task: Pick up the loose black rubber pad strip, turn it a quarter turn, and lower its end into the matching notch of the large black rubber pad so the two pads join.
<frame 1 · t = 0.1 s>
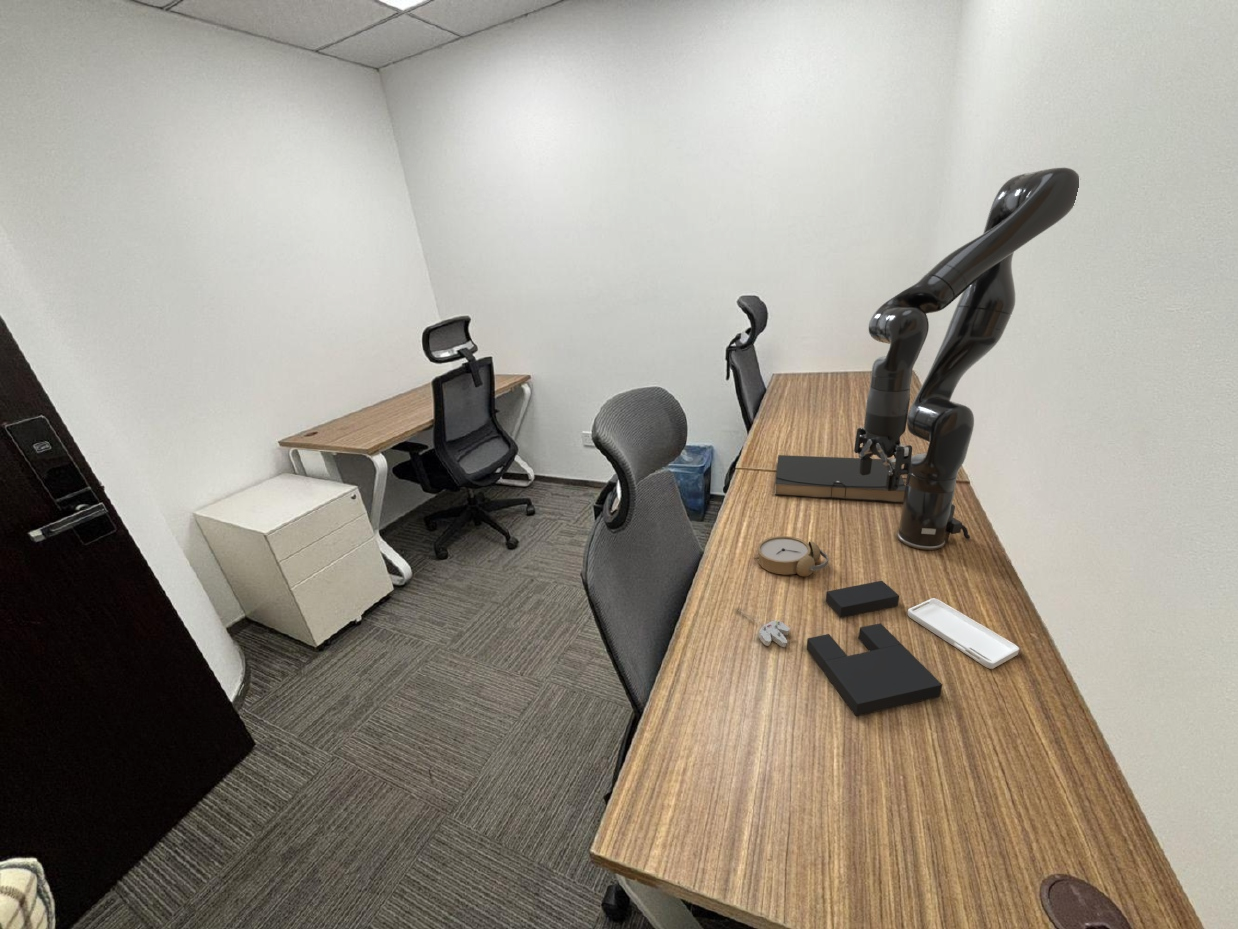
hand: (877, 481, 104), 17 cm above the table, tool pointing down, fingers open, 8 cm apart
phone case: (958, 634, 85), on the table
notched pad: (868, 671, 80), on the table
game controller: (761, 628, 91), on the table
alarm clock: (791, 564, 108), on the table
pad strip: (861, 603, 94), on the table
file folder: (835, 482, 143), on the table
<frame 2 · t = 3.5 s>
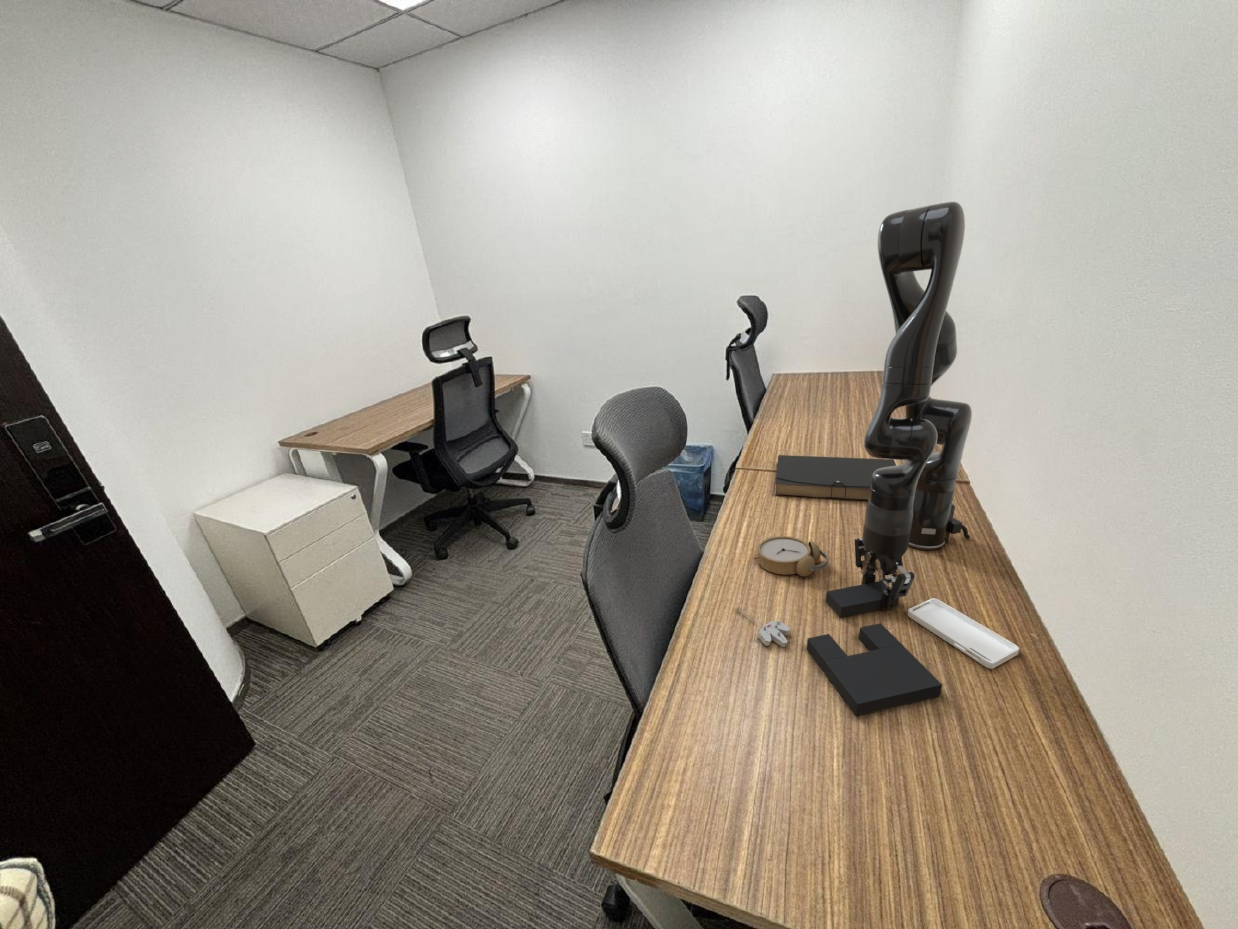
hand: (876, 599, 95), 0 cm above the table, tool pointing down, fingers closed on pad strip, 5 cm apart
pad strip: (861, 603, 94), on the table, touching gripper
everything else where it was.
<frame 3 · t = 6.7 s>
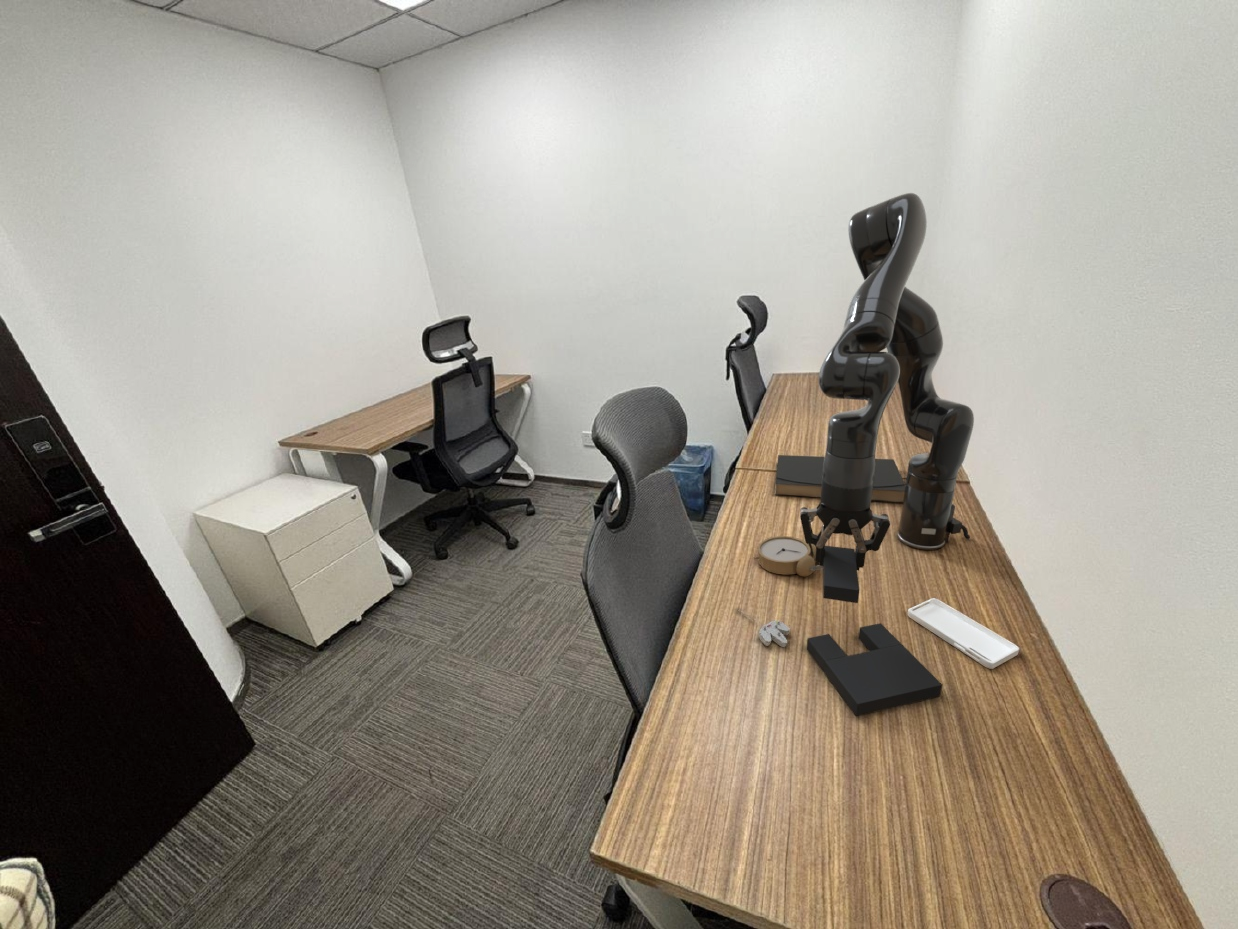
hand: (838, 565, 84), 14 cm above the table, tool pointing down, fingers closed on pad strip, 5 cm apart
pad strip: (839, 578, 82), point 13 cm above the table, touching gripper
everything else where it was.
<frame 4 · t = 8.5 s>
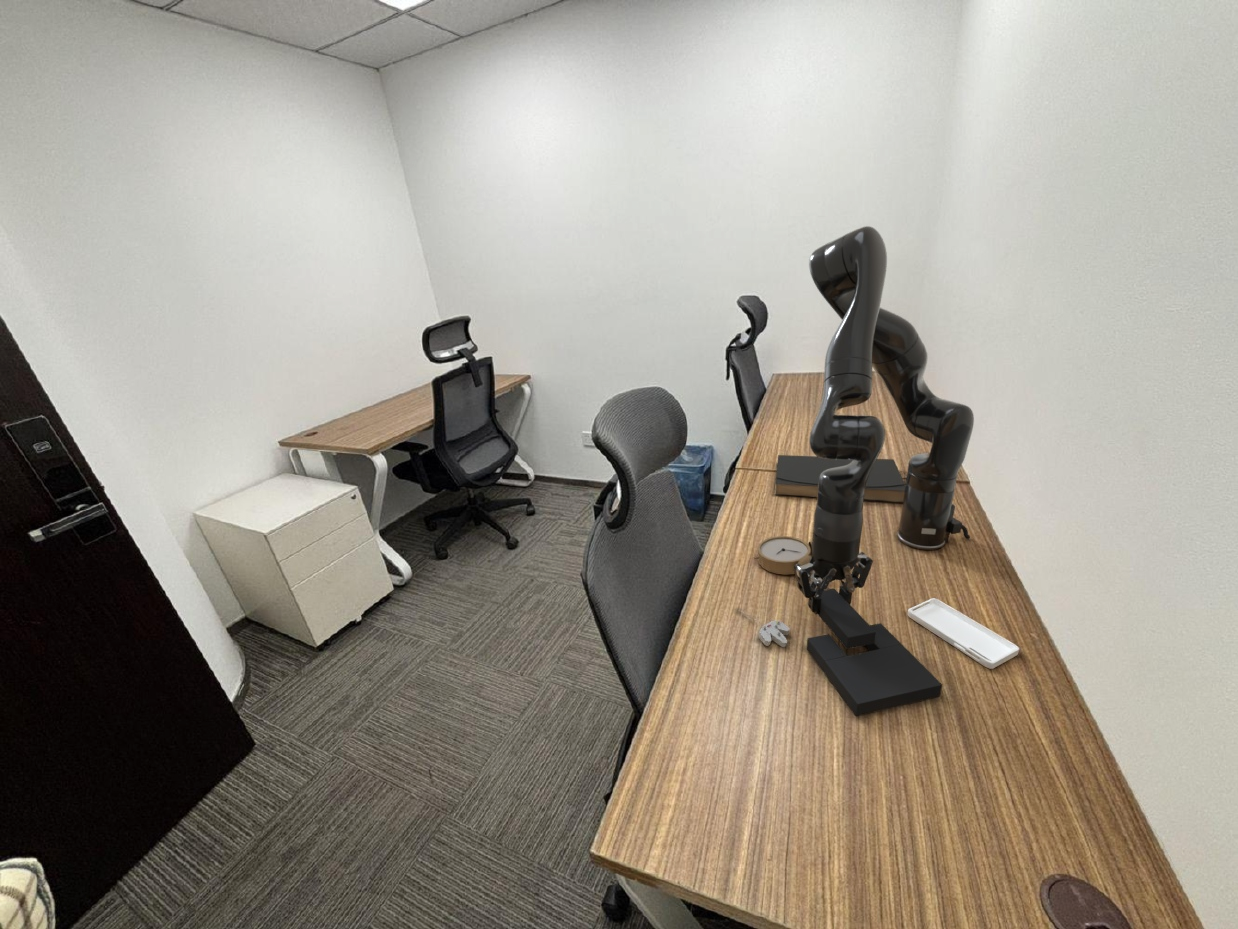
hand: (828, 608, 89), 4 cm above the table, tool pointing down, fingers closed on pad strip, 5 cm apart
pad strip: (839, 622, 86), point 3 cm above the table, touching gripper
everything else where it was.
when the fingers open (0 cm above the table, at t = 9.9 s): pad strip stays where it is, on the table.
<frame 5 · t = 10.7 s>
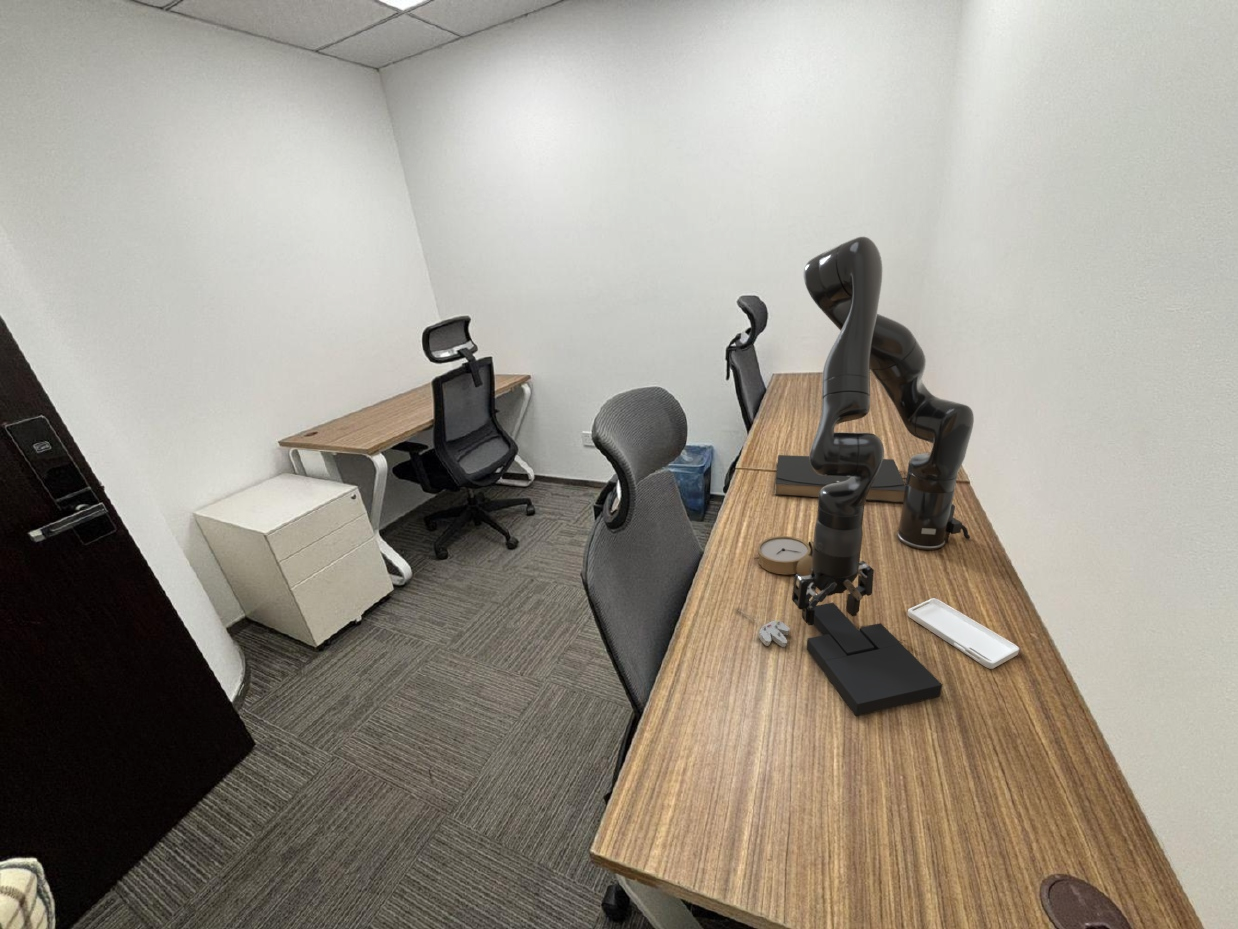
hand: (829, 618, 89), 2 cm above the table, tool pointing down, fingers open, 8 cm apart
pad strip: (838, 636, 87), on the table
everything else where it was.
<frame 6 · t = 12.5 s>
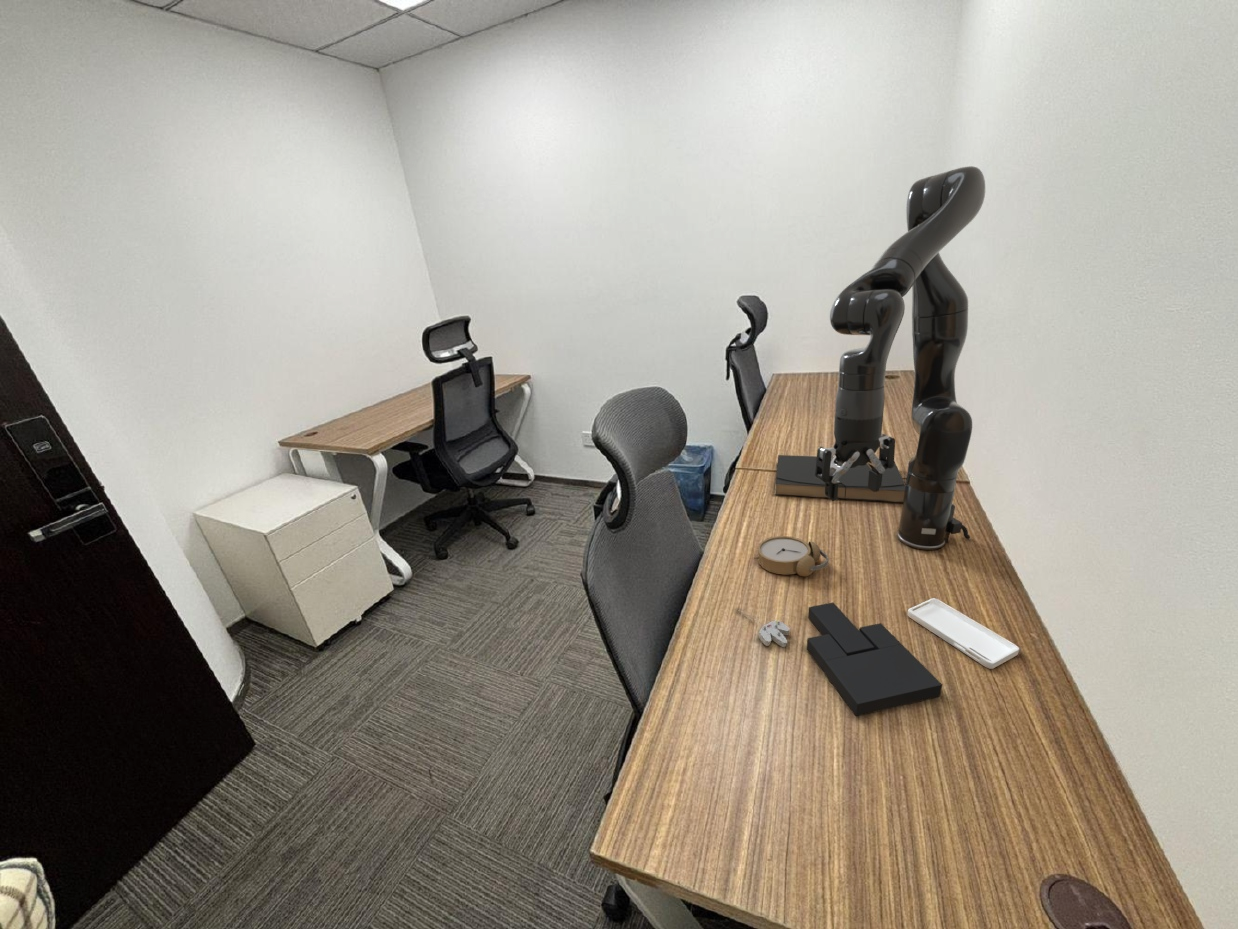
hand: (852, 494, 90), 22 cm above the table, tool pointing down, fingers open, 8 cm apart
nothing on the table moved.
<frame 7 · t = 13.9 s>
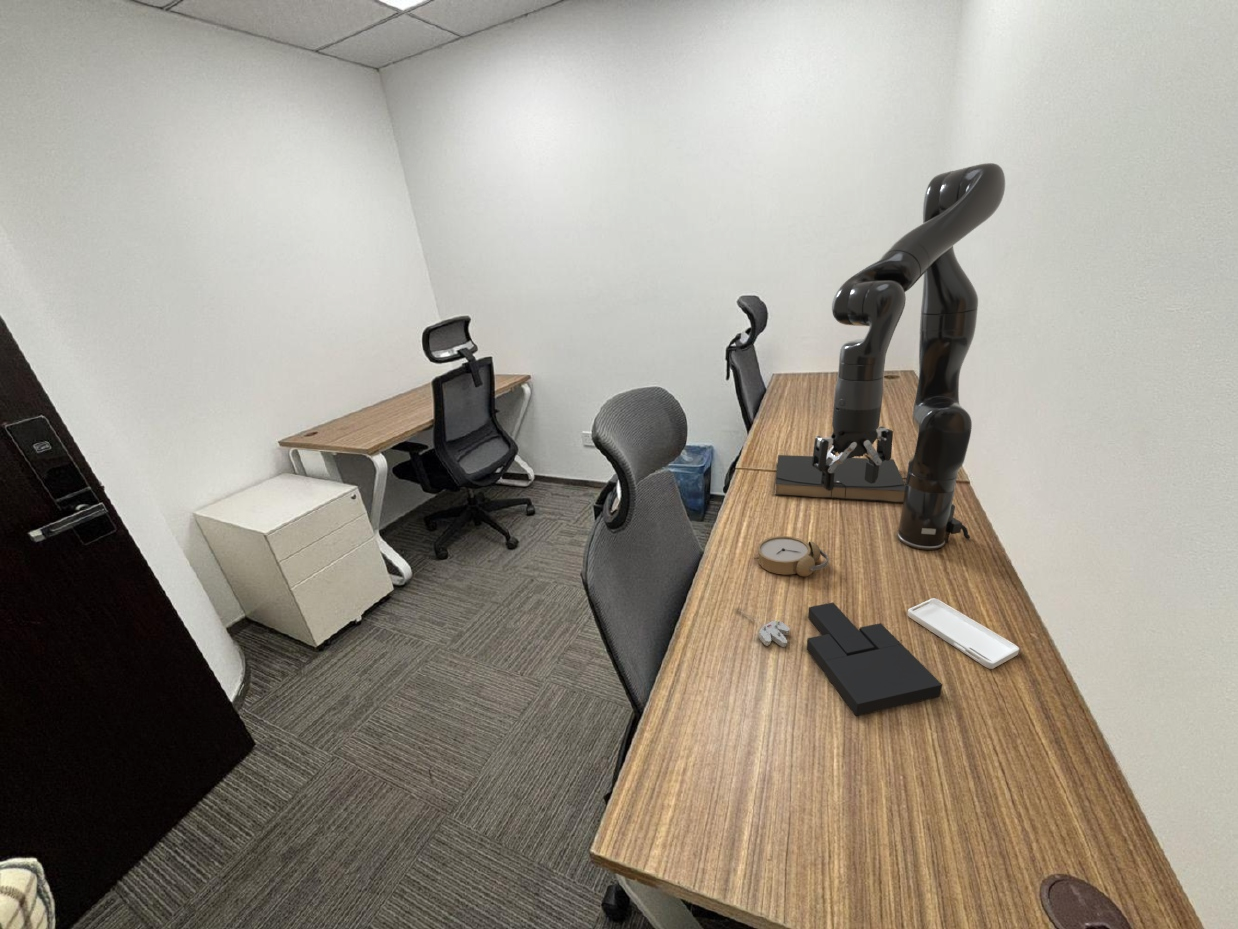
hand: (848, 485, 91), 23 cm above the table, tool pointing down, fingers open, 8 cm apart
nothing on the table moved.
at the end: pad strip 0.2 cm from the target spot on the table beside the notched pad, on the table; pad strip tilted 0°; the gripper is holding nothing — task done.
